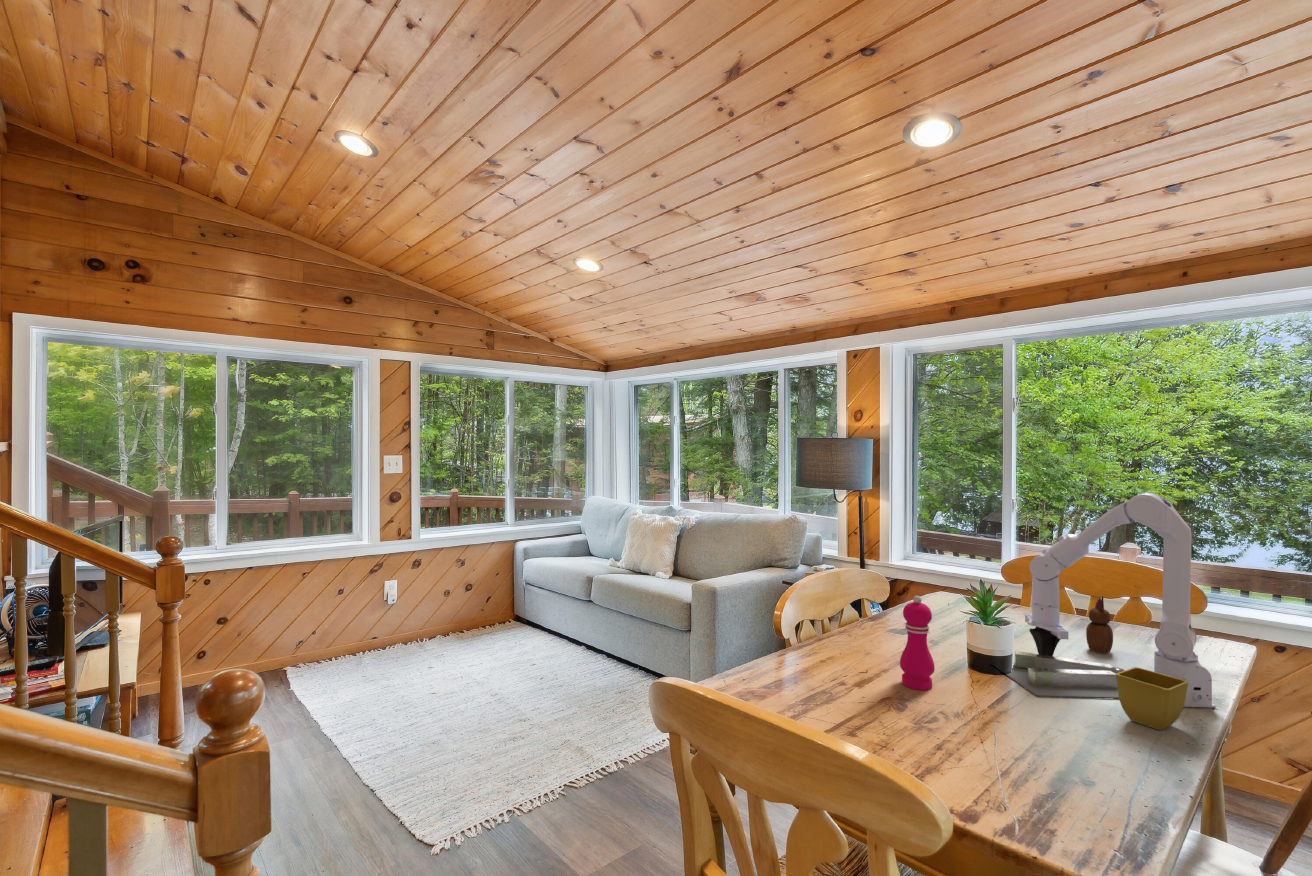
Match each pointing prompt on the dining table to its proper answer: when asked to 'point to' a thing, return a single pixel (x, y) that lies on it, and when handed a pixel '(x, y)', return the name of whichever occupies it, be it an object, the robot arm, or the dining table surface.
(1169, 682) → the flower pot
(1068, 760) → the dining table surface
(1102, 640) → the wooden figurine
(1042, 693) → the mat
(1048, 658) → the hinged arm
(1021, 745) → the dining table surface
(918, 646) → the pepper mill
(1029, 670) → the fixed arm
